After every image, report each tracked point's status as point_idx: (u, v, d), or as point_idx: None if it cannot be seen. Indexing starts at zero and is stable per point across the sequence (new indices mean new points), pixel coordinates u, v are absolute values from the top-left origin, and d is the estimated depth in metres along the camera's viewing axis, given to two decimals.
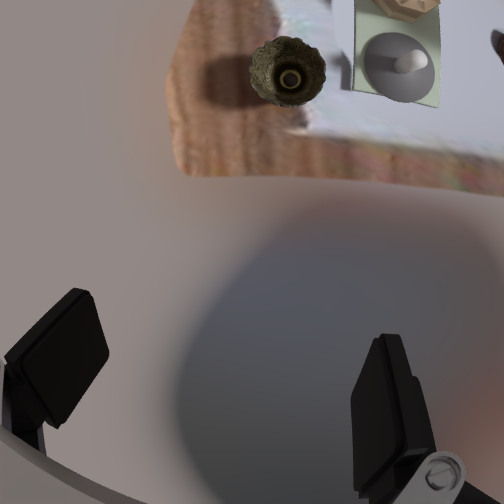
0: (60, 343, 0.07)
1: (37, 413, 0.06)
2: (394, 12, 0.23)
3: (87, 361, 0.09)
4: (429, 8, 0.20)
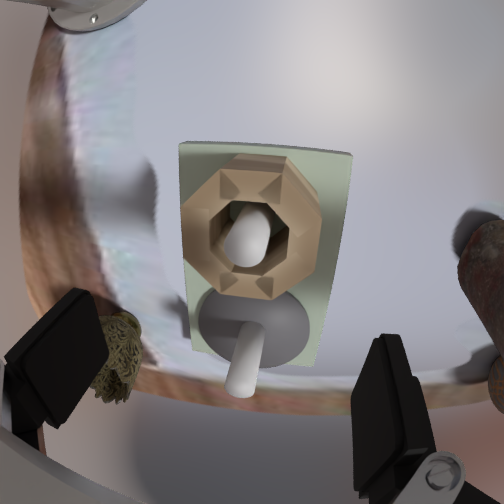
0: (60, 343, 0.07)
1: (37, 413, 0.06)
2: None
3: (87, 361, 0.09)
4: (283, 289, 0.16)
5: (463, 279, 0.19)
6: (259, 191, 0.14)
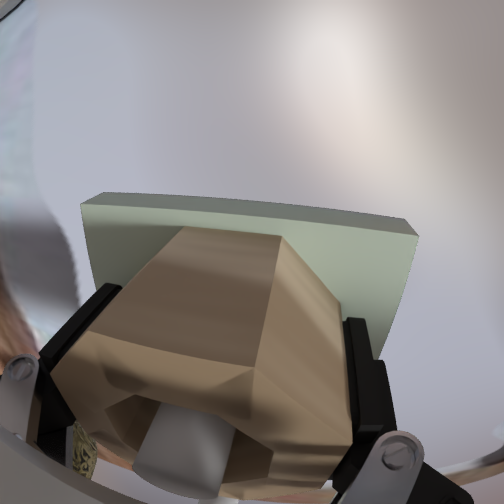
0: None
1: (71, 411, 0.07)
2: None
3: None
4: (263, 496, 0.07)
5: None
6: (194, 394, 0.05)
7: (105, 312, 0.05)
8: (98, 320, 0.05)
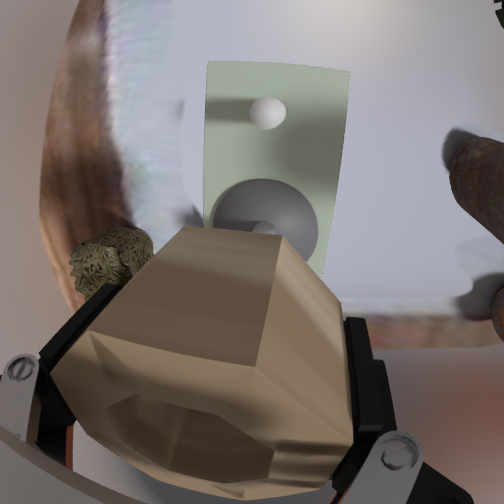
0: None
1: None
2: None
3: None
4: (263, 496, 0.07)
5: (455, 185, 0.21)
6: (194, 393, 0.05)
7: (105, 311, 0.05)
8: (98, 319, 0.05)
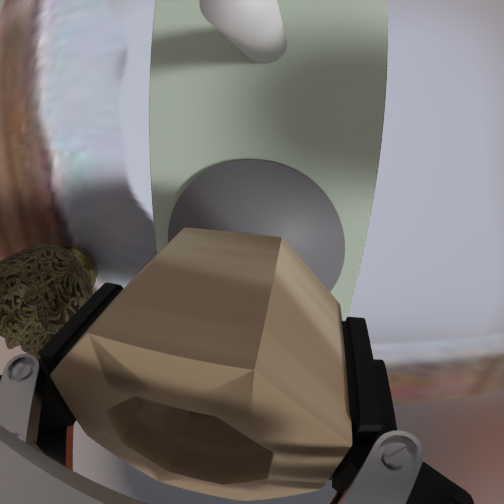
0: None
1: None
2: None
3: None
4: (263, 497, 0.07)
5: None
6: (194, 396, 0.05)
7: (105, 314, 0.05)
8: (98, 322, 0.05)
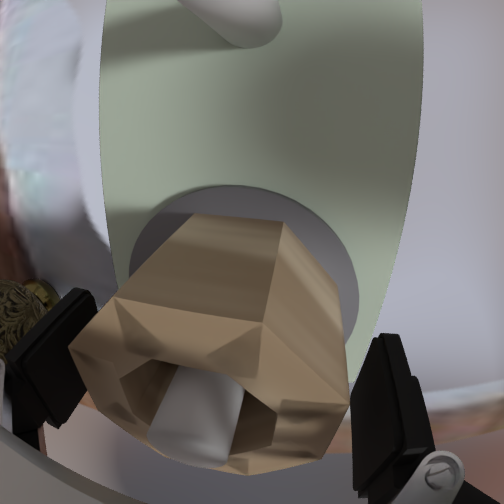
0: (61, 343, 0.07)
1: (38, 413, 0.06)
2: None
3: None
4: (266, 469, 0.08)
5: None
6: (207, 353, 0.06)
7: (128, 282, 0.06)
8: (122, 288, 0.06)
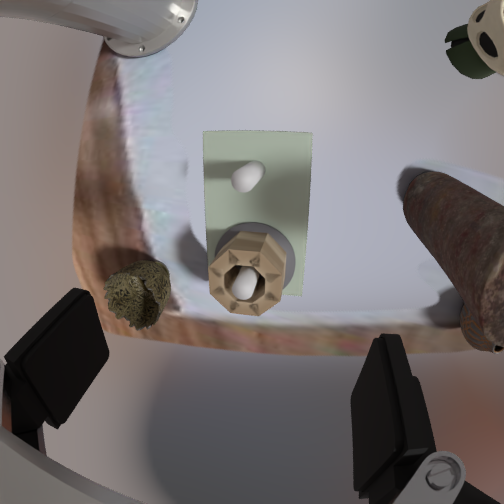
0: (60, 343, 0.07)
1: (37, 413, 0.06)
2: None
3: (87, 361, 0.09)
4: (264, 310, 0.30)
5: (406, 216, 0.28)
6: (249, 260, 0.28)
7: (230, 246, 0.28)
8: (229, 247, 0.28)
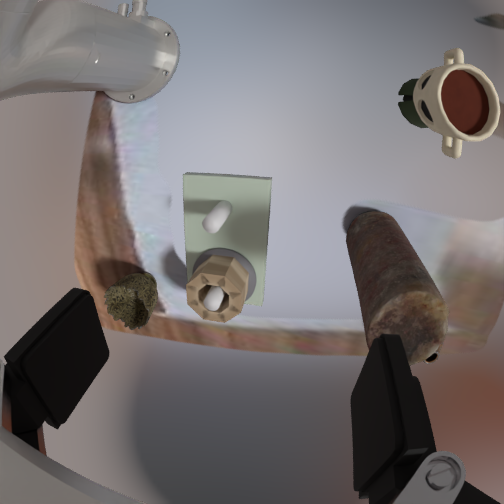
0: (60, 343, 0.07)
1: (37, 413, 0.06)
2: None
3: (87, 361, 0.09)
4: (229, 318, 0.38)
5: None
6: (216, 282, 0.36)
7: (202, 270, 0.37)
8: (202, 271, 0.36)
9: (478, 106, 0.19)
